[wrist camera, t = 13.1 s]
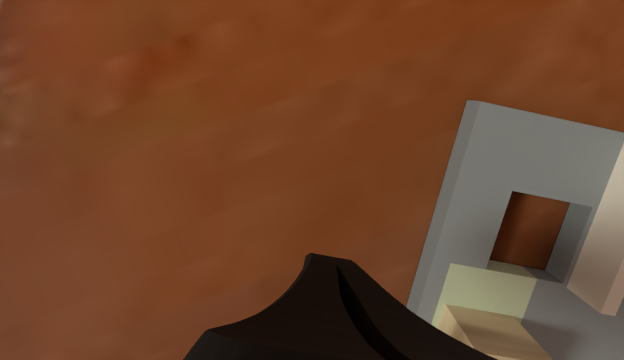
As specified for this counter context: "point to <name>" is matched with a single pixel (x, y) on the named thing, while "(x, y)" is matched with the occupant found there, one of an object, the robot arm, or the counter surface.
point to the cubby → (604, 250)
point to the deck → (488, 217)
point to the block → (490, 333)
